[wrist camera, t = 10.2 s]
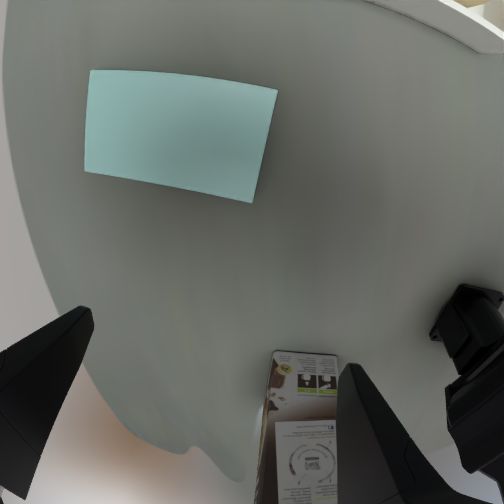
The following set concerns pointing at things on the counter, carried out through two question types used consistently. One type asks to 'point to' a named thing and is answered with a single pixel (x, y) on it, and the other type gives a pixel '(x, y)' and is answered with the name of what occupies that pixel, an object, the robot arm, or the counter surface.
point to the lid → (178, 130)
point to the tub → (458, 19)
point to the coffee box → (299, 431)
